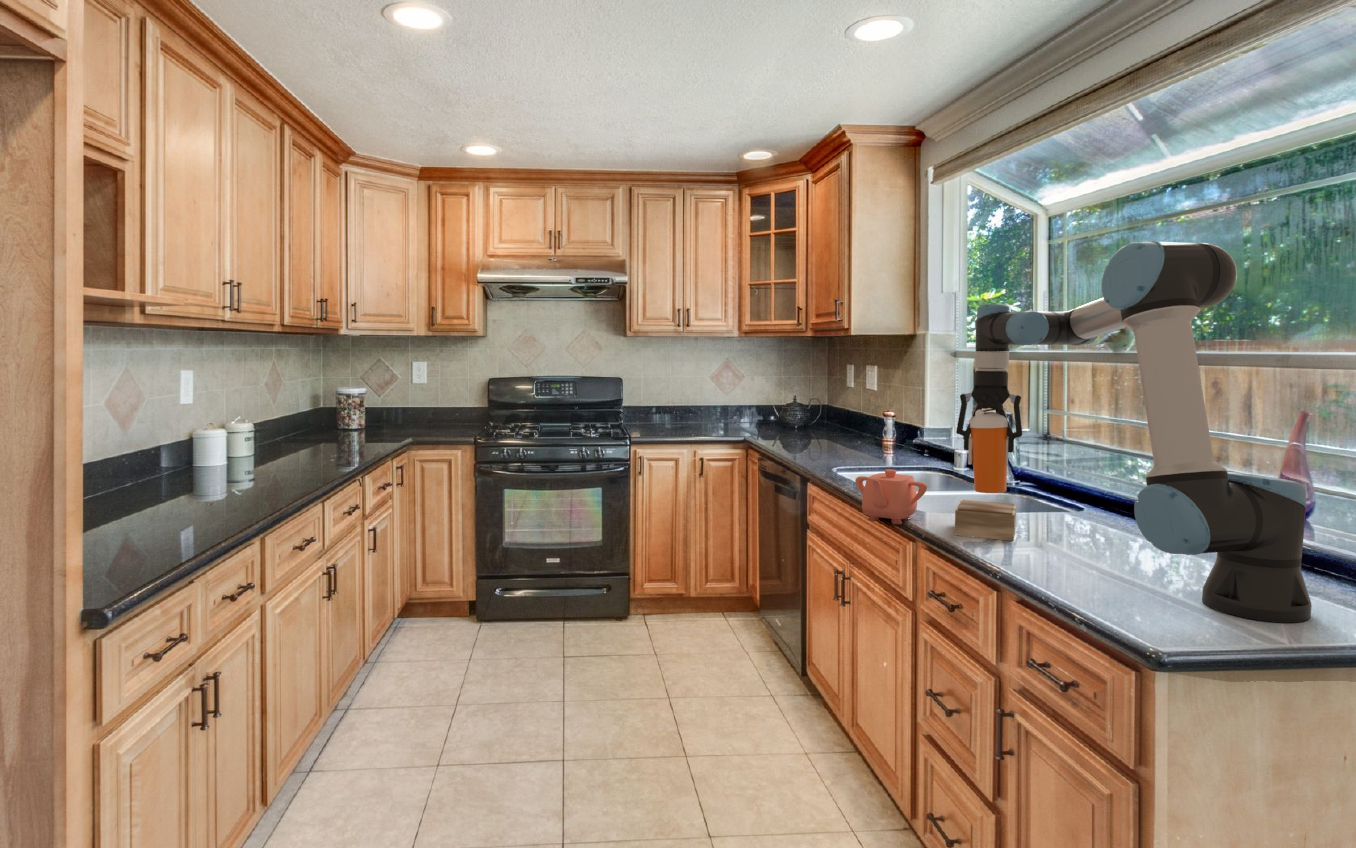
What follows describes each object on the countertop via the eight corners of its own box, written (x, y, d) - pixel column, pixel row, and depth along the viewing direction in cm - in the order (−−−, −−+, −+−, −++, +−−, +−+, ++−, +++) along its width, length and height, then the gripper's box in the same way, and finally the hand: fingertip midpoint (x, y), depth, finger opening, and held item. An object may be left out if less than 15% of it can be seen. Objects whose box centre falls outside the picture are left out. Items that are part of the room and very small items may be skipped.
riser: (1013, 540, 182) (1014, 513, 181) (954, 535, 187) (955, 509, 187) (1015, 529, 194) (1016, 503, 193) (959, 524, 199) (960, 499, 198)
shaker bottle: (1016, 493, 185) (1014, 408, 183) (978, 494, 185) (976, 410, 183) (1001, 487, 193) (999, 406, 192) (965, 489, 194) (963, 408, 192)
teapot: (902, 512, 214) (903, 464, 213) (932, 524, 199) (933, 473, 197) (845, 515, 211) (846, 466, 209) (871, 528, 195) (872, 476, 194)
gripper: (1038, 369, 186) (1033, 465, 188) (948, 368, 194) (945, 460, 197) (1037, 370, 179) (1033, 469, 181) (945, 369, 187) (942, 464, 190)
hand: (987, 464), depth 189 cm, fingers closed on shaker bottle, 7 cm apart
